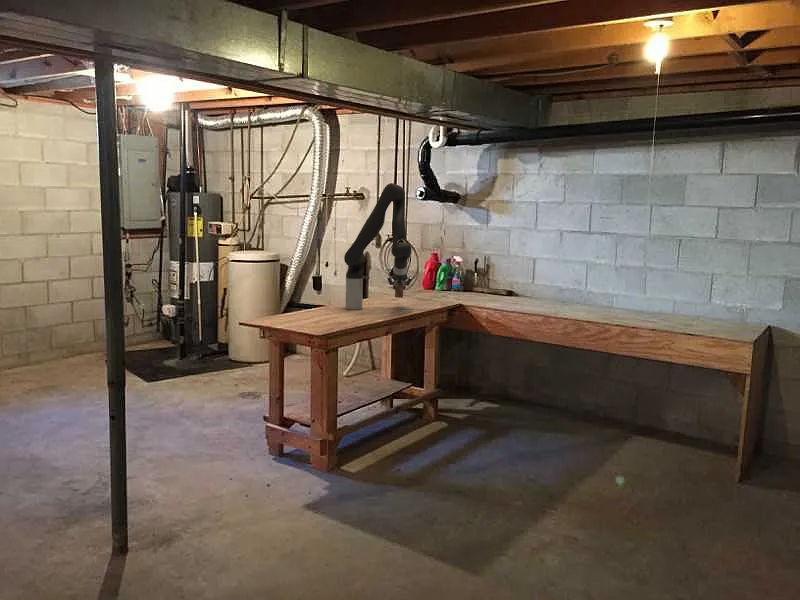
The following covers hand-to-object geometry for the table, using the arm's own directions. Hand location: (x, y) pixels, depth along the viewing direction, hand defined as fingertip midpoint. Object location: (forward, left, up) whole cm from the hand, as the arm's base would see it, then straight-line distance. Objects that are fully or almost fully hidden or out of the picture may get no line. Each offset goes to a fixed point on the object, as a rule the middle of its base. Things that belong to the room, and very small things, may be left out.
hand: (399, 288), depth 381 cm
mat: (+4, -10, -11) cm, 15 cm away
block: (0, -2, -5) cm, 5 cm away
